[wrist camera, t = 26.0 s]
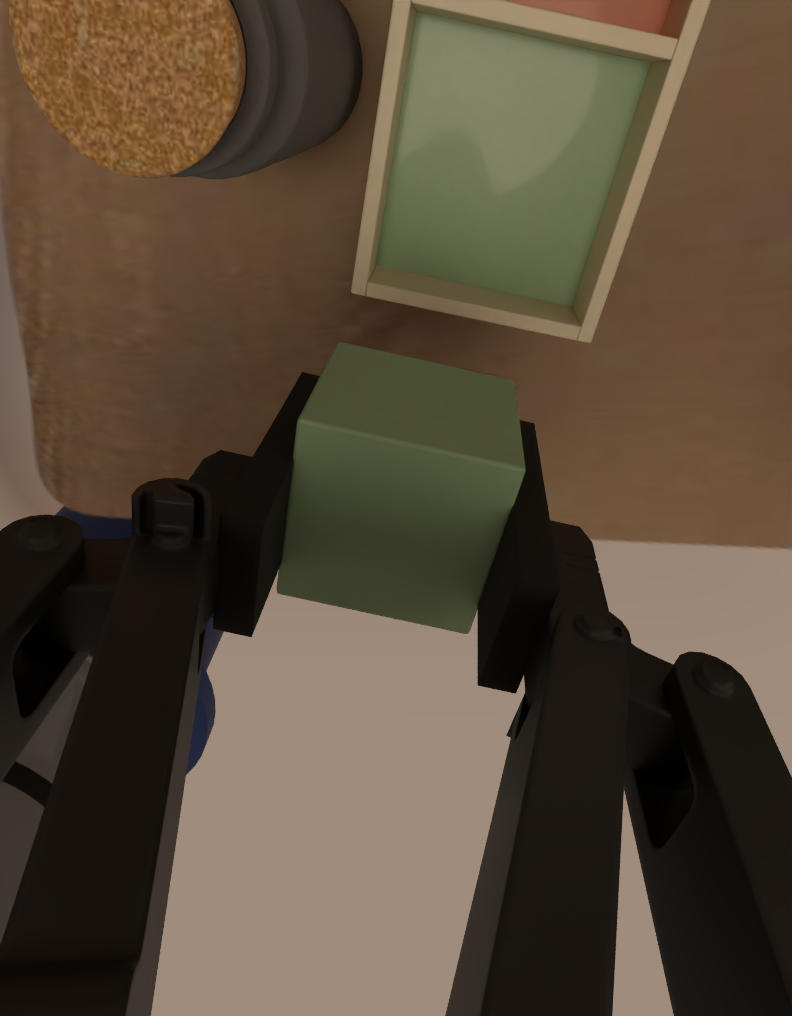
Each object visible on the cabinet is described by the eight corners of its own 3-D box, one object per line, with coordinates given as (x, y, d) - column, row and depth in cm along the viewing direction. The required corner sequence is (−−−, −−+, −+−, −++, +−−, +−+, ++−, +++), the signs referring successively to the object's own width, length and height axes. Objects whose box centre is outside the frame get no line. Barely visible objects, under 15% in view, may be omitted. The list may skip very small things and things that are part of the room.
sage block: (315, 491, 19) (275, 595, 15) (337, 339, 17) (296, 418, 13) (470, 525, 19) (469, 636, 15) (515, 379, 17) (527, 469, 13)
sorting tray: (361, 273, 30) (350, 293, 27) (467, -429, 19) (466, -517, 17) (579, 319, 30) (590, 344, 28) (803, -350, 20) (860, -423, 17)
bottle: (327, 176, 28) (213, 254, 16) (195, 102, 27) (-41, 120, 15) (389, 23, 25) (311, -35, 13) (244, -68, 24) (0, -228, 12)
